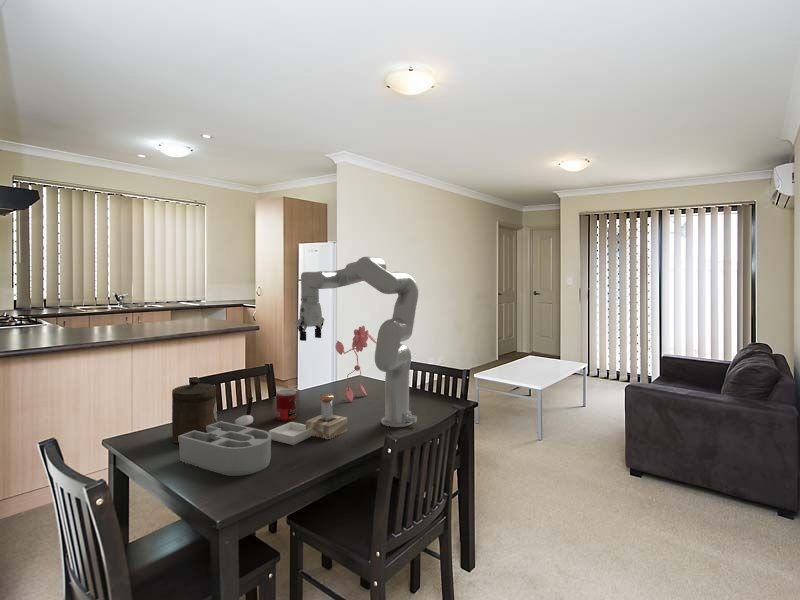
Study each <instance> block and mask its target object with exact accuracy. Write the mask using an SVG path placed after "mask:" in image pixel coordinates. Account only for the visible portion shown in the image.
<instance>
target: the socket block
mask: <svg viewBox="0 0 800 600" xmlns="http://www.w3.org/2000/svg"><path fill="white" fill-rule="evenodd" d="M305 425H306V430H307V429H309V428H313V436H312V437H315V436H316V438H319V437H321V438H320V439H324V438H325V440H328V439H330V440H332V439H334V438H336V437H338V436H339V435H342V434H344V433H346V432H347V431H348V425H349V423H348V417H347V416H346V417H345V416H342V415H341V416H340V415H336V414H332V421H331V422H329V423H327V422H322V421H321V414H320V415H317V416H315V417H313V418H310V419H307V420H305ZM337 435H338V436H337ZM335 436H336V437H335ZM333 437H334V438H333ZM331 438H332V439H331Z"/></svg>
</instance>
